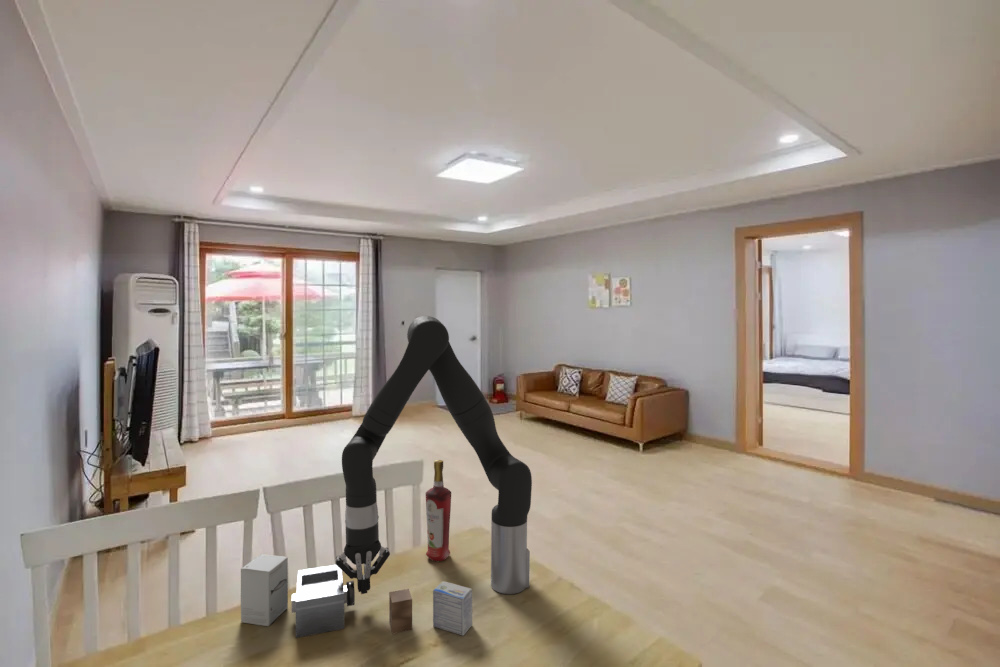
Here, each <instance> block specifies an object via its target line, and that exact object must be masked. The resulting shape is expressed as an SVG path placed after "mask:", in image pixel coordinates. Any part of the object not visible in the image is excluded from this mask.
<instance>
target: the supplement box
mask: <svg viewBox="0 0 1000 667" xmlns="http://www.w3.org/2000/svg"><path fill="white" fill-rule="evenodd" d="M288 558H289V557H288V556H283V555H282V556H281V555H274V554H273V555H272V554H265V553H264V554H262V553H261V554H259V555H258V556H256V557H255V558H254V559H253V560H251V561H249V562H248V563H247V564H246V565H244V566H242V567H241V568H240V623H245V624H252V625H257V626H264V627H270V625H272V623H273V622H274V621H275V620H277V618H278V617H280V615H282V614H283V613H284V612H285V611H286V610H287V609H288V607H289V604H288V603H289V597H288V596H289V594H288V593H289V584H288V583H289V582H288V581H289V580H288V579H289V575H288V574H289V573H288V570H289V568H288V567H289V566H288V564H289V563H288Z"/></svg>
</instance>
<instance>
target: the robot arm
mask: <svg viewBox="0 0 1000 667" xmlns="http://www.w3.org/2000/svg"><path fill="white" fill-rule="evenodd" d="M406 334H407V335H406V337H407V341H408V343H407V346H406V349H405V351H404V353H403V356H402V358H401V360H400V362H399V364H398V365H397V367H396V369H395V370H394V372H393V373H392V375H391V376H389V378H388V379H387V381H386V382H385V383H384V384H383V386H382V387H381V388H380V389H379V391H378V393H377V394H376V395H375V397H374V399H373V400H372V402H371V404H370V405H369V407H368V408H367V411H366V412H365V414H364V416H363V418H362V422H361V423H360V425H359V427H358V429H357V430H356V432H355V433H354V434H353V436H352V438H351V439H350V441H349V442H348V443H347V444H346V445H345V447H344V448H343V450H342V454H341V468H342V474H343V479H344V482H345V483H344V484H345V511H344V512H345V513H344V523H345V546H344V548H343V552H342V553H341V554H340V555H337V556H335V564H336V565H337V566H338V567H339V568H340V569H341V570H342V573H344V574H345V575H346V576H347V577H349V579H350V580H352V579H356V580H357V583H356V584H357V591H358V593H360V595H364V594H368V591H371V590H370V589H371V576H373V575H377V574H378V573H379V571H380V570H381V568H382V567H383V565H384V564H385V563H386V561H387V560H388V558H389V557H390V555H391V552H390V549H389V548H388V547H384V546H382V545H381V544H382V543H381V541H380V539H379V538H380V534H379V518H380V517H379V509H378V508H379V507H378V503H377V502H378V501H377V500H378V498H377V497H378V496H377V483H376V480H375V477H374V470H373V464H374V463H373V461H374V459H375V457H376V455H377V454H378V453H379V450H380V448H381V447H382V445H383V442H384V441H385V439H386V437H387V435H388V434H389V433H390V431H391V430H392V428H393V427H394V425H395V423H396V422H397V420H398V418H399V417H400V415H401V414H402V412H403V410H404V408H405V406H407V405H406V404H407V403H408V401H409V399H410V398H411V396H412V394H413V393H414V391H415V390H416V388H417V387H418V385H419V383H420V382H421V381H422V380H423V378H424V377H425V376H426V374H427V373H428V371H429V372H430V373H431V375H432V377H433V379H434V382H435V383H436V386H437V388H438V391H439V393H440V395H441V397H442V400H443V402H444V404H445V406H446V408H447V410H448V412H449V414H450V415H451V416H452V418H453V420H454V422H455V423H456V425H457V426H458V428H459V430H460V431H461V433H462V434H463V436H464V438H466V440H467V442H468V443H469V444H470V446H471V447H472V449H473V450H474V452H475V454H476V455H477V457H478V459H479V462H480V463H481V466H482V468H483V471H484V473H485V475H486V477H487V479H488V481H489V483H490V484H491V485H492V487H494V488H495V489H496V490H497V491H498V498H497V499H498V500H497V504H495V505H494V506H493V507H492V509H491V527H490V528H491V530H490V531H491V533H490V534H491V538H490V540H491V541H490V542H491V545H490V547H491V548H490V587H491V588H492V589H493V590H494V591H495V592H498V593H500V594H503V595H514V594H519V593H522V592H523V591H524V590H526V589H529V588H530V568H531V567H530V565H531V564H530V563H531V562H530V561H531V560H530V557H531V553H530V550H529V549H528V515H529V513H530V510H531V504H532V488H533V487H532V486H533V478H532V477H533V476H532V471H531V470H530V468H529V466H528V465H527V464H526V463H525V462H523V461H521V459H519V458H516V457H515V456H514V455H512V454H511V453H510V451H509V450H508V449H507V447H506V445H505V444H504V442H503V441H502V440H501V438H500V435H499V434H498V431H497V426H496V422H495V417H494V414H493V411H492V409H491V407H490V404H489V403H488V401H487V399H486V398H485V395H484V394H483V392H482V390H481V389H480V387H479V386H478V385H477V383H476V382H475V380H474V379H473V377H472V376H471V375H470V374H469V373H468V371H467V370H466V369H465V368H464V366H463V365H462V364H461V362H460V360H459V359H458V357H457V355H456V354H455V352H454V350H453V347H452V345H451V342H450V334H449V331H448V329H447V327H446V326H445V325H444V323H442V322H441V321H440V320H439V319H438V318H436V317H433V316H430V315H421V316H418V317H416V318H414V319H413V320H412V321H411V323H410V324H409V326H408V328H407V333H406ZM377 555H378V557H377ZM376 557H377V558H376ZM347 559H348V560H349V561H350V562H351V564H353V565H354V566H355V569H354V568H353V567H352V566H351V565H350V564H349V563H348V562H347ZM375 559H376V560H375ZM374 560H375V561H374ZM373 561H374V562H373ZM372 562H373V564H372Z"/></svg>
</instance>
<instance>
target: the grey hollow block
mask: <svg viewBox="0 0 1000 667" xmlns="http://www.w3.org/2000/svg"><path fill="white" fill-rule="evenodd" d="M343 577H344V576H343V571H342V570H341V569H340V568H339V567H338V566H337V565H336V563H335V564H330V565H324V566H317V567H312V568H311V567H310V568H303V569H298V570H297V578H296V591H295V594H296V612H295V638H296V639H298V638H303V637H308V636H311V635H312V636H313V635H318V634H323V633H327V632H328V633H329V632H333V631H338V630H339V631H340V630H344V629H345V604H344V587H343V586H344V579H343Z"/></svg>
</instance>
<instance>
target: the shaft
mask: <svg viewBox="0 0 1000 667" xmlns="http://www.w3.org/2000/svg"><path fill="white" fill-rule="evenodd" d="M343 587H344V605H345V604H346V607H351V606H355V600H356V599H355V597H356V596H355V594H356V592H355V591H356V590H355V581H354V580H350V581H346V582H345V585H343ZM292 613H296V593H292V594H291V614H292Z"/></svg>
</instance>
